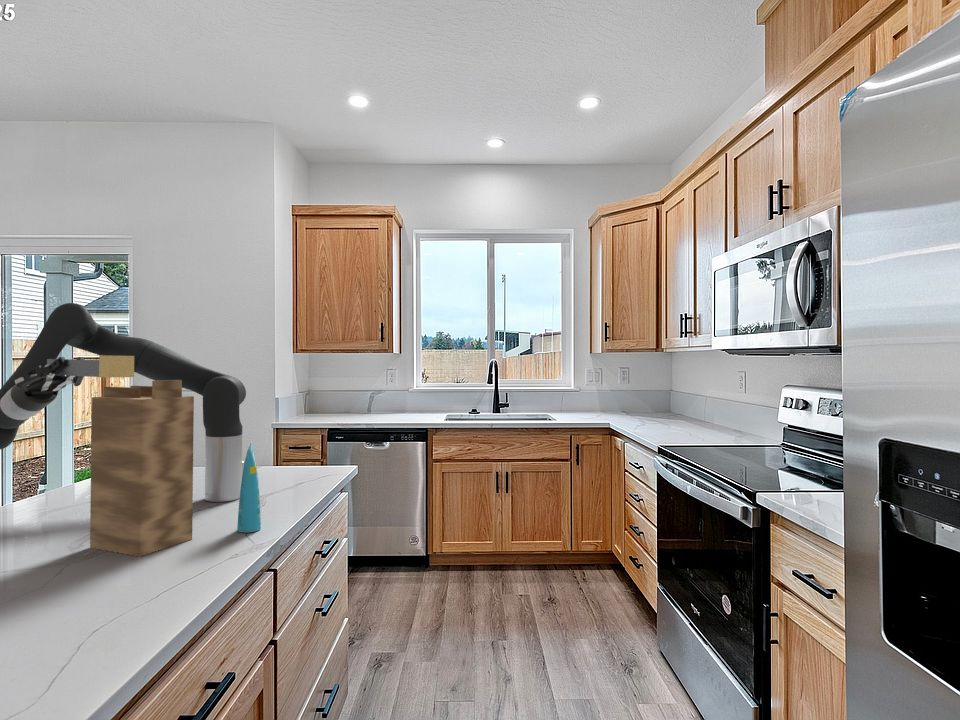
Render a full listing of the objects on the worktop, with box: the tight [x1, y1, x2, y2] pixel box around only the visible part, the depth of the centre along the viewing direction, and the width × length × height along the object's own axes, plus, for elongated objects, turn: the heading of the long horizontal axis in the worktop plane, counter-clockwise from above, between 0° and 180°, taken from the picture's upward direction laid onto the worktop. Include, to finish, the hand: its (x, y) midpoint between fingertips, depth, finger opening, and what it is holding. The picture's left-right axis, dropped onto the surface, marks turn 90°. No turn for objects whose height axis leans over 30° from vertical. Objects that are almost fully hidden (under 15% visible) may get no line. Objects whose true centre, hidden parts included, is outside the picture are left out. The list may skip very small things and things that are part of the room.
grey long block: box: [47, 355, 135, 379], centre depth 125 cm, size 6×21×4 cm, turn 69°
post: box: [89, 380, 195, 557], centre depth 119 cm, size 12×14×34 cm
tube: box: [236, 441, 262, 533], centre depth 129 cm, size 7×5×19 cm, turn 26°
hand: (73, 360), depth 127 cm, fingers closed on grey long block, 3 cm apart
